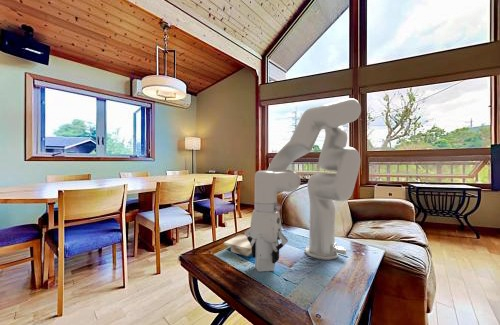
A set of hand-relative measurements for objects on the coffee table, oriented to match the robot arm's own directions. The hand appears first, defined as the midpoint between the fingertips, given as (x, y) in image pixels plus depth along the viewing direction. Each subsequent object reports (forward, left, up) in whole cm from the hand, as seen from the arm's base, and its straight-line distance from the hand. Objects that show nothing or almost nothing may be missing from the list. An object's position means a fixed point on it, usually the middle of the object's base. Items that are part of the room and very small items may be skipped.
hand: (264, 258), depth 82 cm
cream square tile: (+14, -9, -3) cm, 17 cm away
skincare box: (0, 0, -4) cm, 4 cm away
